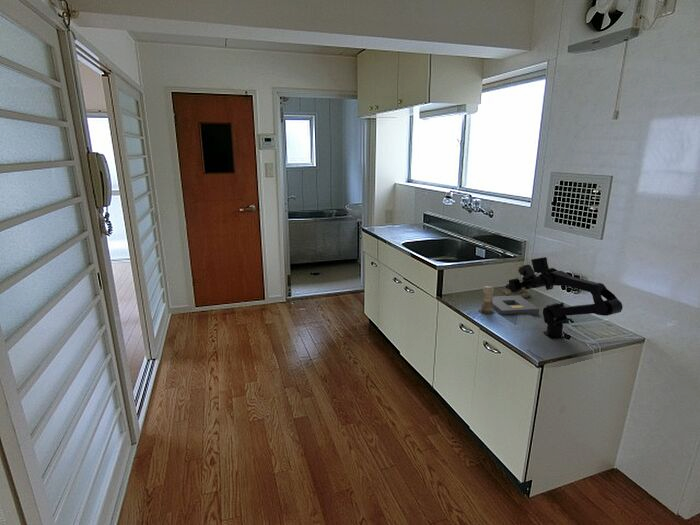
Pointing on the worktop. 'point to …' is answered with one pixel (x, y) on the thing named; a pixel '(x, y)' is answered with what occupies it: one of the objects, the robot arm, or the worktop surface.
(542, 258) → the robot arm
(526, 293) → the ceramic model
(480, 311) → the pad
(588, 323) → the worktop surface
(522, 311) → the hole plate
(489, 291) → the beech peg
